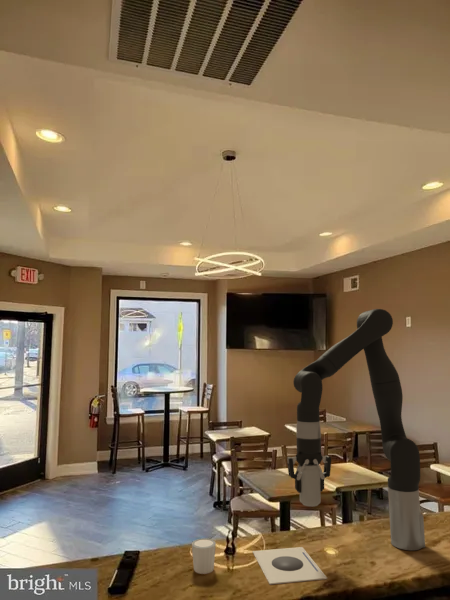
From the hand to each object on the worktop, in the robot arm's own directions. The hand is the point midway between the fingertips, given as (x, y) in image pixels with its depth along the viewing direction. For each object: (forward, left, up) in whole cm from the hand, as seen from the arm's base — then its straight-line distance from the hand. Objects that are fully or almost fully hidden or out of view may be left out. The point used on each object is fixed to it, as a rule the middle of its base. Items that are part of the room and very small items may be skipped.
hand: (309, 491), depth 138 cm
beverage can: (0, 0, -4) cm, 4 cm away
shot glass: (+33, +4, -18) cm, 38 cm away
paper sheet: (+9, +6, -18) cm, 21 cm away
